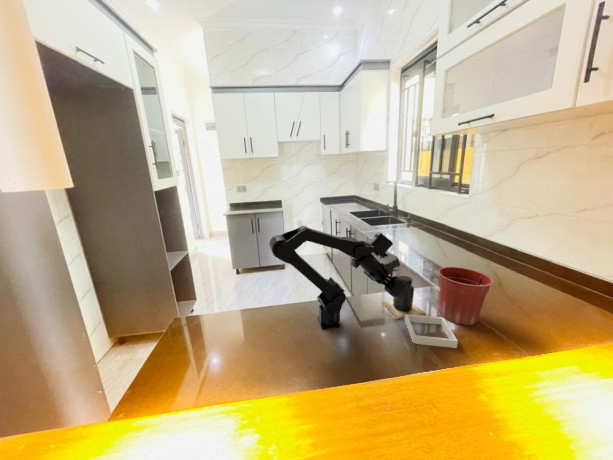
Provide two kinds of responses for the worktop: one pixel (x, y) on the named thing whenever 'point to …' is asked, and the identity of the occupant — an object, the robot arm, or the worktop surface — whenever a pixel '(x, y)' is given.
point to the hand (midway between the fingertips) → (395, 290)
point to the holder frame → (432, 341)
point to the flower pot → (462, 294)
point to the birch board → (401, 314)
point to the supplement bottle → (407, 300)
